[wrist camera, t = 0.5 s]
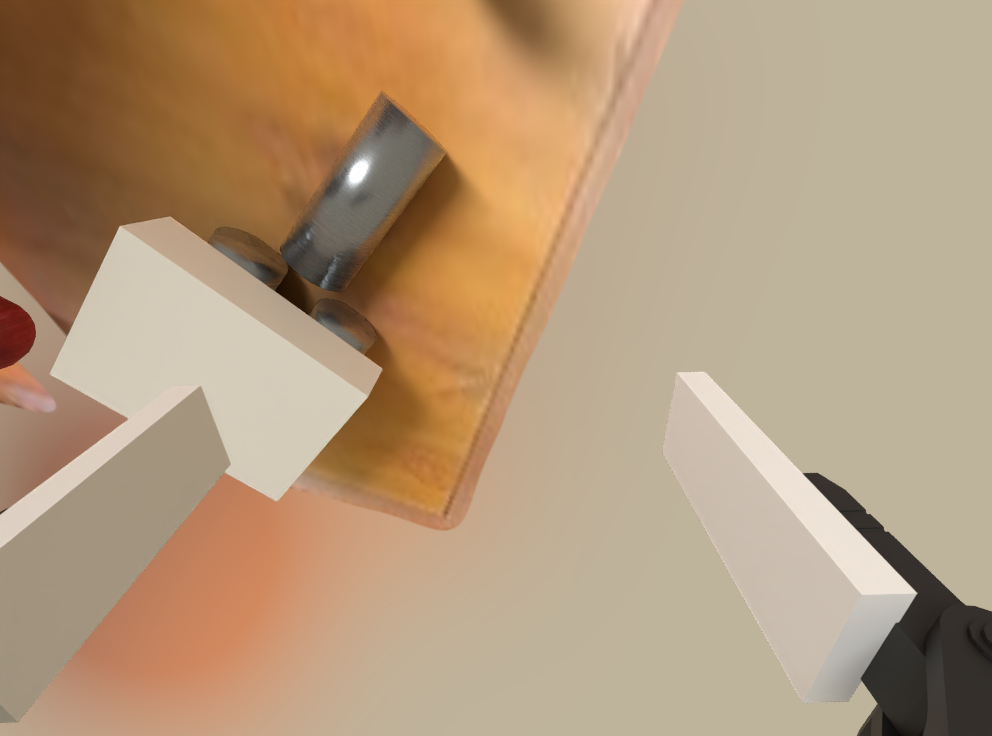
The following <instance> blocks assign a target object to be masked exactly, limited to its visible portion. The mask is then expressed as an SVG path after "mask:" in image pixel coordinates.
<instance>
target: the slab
mask: <svg viewBox="0 0 992 736" xmlns="http://www.w3.org/2000/svg"><path fill="white" fill-rule="evenodd" d="M382 370H383V369H382V368H381V367H380V366H378V365H377V364H375V363H374V362H373V361H371V360H370V359H368V358H367V357H366V356H364V355H363V354H361V353H360V352H359V351H357V350H356V349H354V348H353V347H352V346H350V345H349V344H348V343H346V342H345V341H343V340H342V339H341V338H339V337H338V336H336V335H335V334H334V333H332V332H331V331H329V330H328V329H327V328H325V327H324V326H322V325H321V324H320V323H318V322H317V321H315V320H314V319H313V318H311V317H310V316H308V315H307V314H306V313H304V312H303V311H301V310H300V309H299V308H297V307H296V306H295V305H293V304H292V303H290V302H289V301H288V300H286V299H285V298H283V297H282V296H281V295H279V294H278V293H276V292H275V291H274V290H272V289H271V288H269V287H268V286H267V285H265V284H264V283H262V282H261V281H260V280H258V279H257V278H255V277H254V276H253V275H251V274H250V273H249V272H247V271H246V270H244V269H243V268H242V267H240V266H239V265H237V264H236V263H235V262H233V261H232V260H230V259H229V258H228V257H226V256H225V255H223V254H222V253H221V252H219V251H218V250H216V249H215V248H214V247H212V246H211V245H209V244H208V243H207V242H205V241H204V240H203V239H201V238H200V237H198V236H197V235H196V234H194V233H193V232H191V231H190V230H189V229H187V228H186V227H184V226H183V225H182V224H180V223H179V222H177V221H176V220H175V219H173V218H172V217H170V216H169V217H164V218H159V219H154V220H148V221H143V222H138V223H132V224H127V225H122V226H120V227H119V229H118V231H117V233H116V235H115V237H114V239H113V241H112V244H111V246H110V248H109V250H108V252H107V254H106V256H105V258H104V260H103V262H102V265H101V267H100V269H99V271H98V273H97V275H96V277H95V279H94V281H93V283H92V286H91V288H90V290H89V292H88V294H87V296H86V298H85V300H84V302H83V304H82V307H81V309H80V311H79V313H78V315H77V317H76V319H75V321H74V323H73V325H72V328H71V330H70V332H69V334H68V336H67V338H66V340H65V342H64V344H63V347H62V349H61V351H60V353H59V355H58V357H57V359H56V361H55V363H54V365H53V368H52V370H51V372H50V375H51V376H53V377H55V378H57V379H59V380H60V381H62V382H64V383H66V384H68V385H69V386H71V387H73V388H74V389H76V390H78V391H80V392H82V393H84V394H85V395H87V396H89V397H91V398H92V399H94V400H96V401H98V402H99V403H101V404H103V405H105V406H107V407H109V408H110V409H112V410H114V411H116V412H118V413H119V414H121V415H123V416H125V417H126V418H128V419H129V418H131V417H132V416H133V415H135V414H136V413H138V412H139V411H140V410H142V409H143V408H144V407H146V406H147V405H148V404H150V403H151V402H152V401H154V400H155V399H156V398H158V397H159V396H160V395H162V394H163V393H164V392H166V391H167V390H168V389H170V388H171V387H172V386H192V385H201V387H202V390H203V392H204V395H205V398H206V400H207V403H208V405H209V408H210V411H211V413H212V416H213V418H214V421H215V424H216V426H217V429H218V431H219V434H220V437H221V439H222V442H223V444H224V447H225V450H226V452H227V455H228V457H229V460H230V463H231V465H230V466H229V467H228V469H227V470H226V471H225V473H226V474H228V475H230V476H232V477H234V478H236V479H237V480H239V481H241V482H243V483H245V484H246V485H248V486H250V487H252V488H253V489H255V490H257V491H259V492H260V493H262V494H264V495H266V496H268V497H270V498H271V499H273V500H275V501H278V500H279V499H280V498H281V497H282V495H283V494H284V493H285V492H286V491H287V489H289V487H290V486H291V485H292V484H293V483H294V482H295V480H296V479H297V478H298V477H299V476H300V475H301V474H302V472H303V471H304V470H305V469H306V468H307V467H308V465H309V464H310V463H311V462H312V461H313V460H314V459H315V457H316V456H317V455H318V454H319V453H320V452H321V450H322V449H323V448H324V447H325V446H326V445H327V444H328V442H329V441H330V440H331V439H332V438H333V437H334V435H335V434H336V433H337V432H338V431H339V430H340V429H341V427H342V426H343V425H344V424H345V423H346V422H347V421H348V419H349V418H350V417H351V416H352V415H353V414H354V412H355V411H356V410H357V409H358V408H359V407H360V406H361V404H362V403H363V402H364V401H365V400H366V399H367V397H368V396H369V394H370V392H371V391H372V389H373V387H374V385H375V383H376V381H377V379H378V377H379V375H380V373H381V372H382Z"/></svg>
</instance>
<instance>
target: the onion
mask: <svg viewBox="0 0 992 736" xmlns="http://www.w3.org/2000/svg"><path fill="white" fill-rule="evenodd" d="M35 337H36V331H35V324H34V322H33V320H32V319H31V317H30V316H29V314H28V313H27V312H25V311H24V310H23V309H22V308H21V307H20V306H19V305H17V304H15V303H13V302H11V301H8V300H7V299H5V298H3V297H1V296H0V369H2V368H5V367H8V366H11V365H13V364H14V363H16V362H17V361H18V360H20V359H21V358H22V357H23V356H24V355H25V354H27V353H28V352H29V351H30V349H31V347H32V345H33V343H34V340H35Z"/></svg>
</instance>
